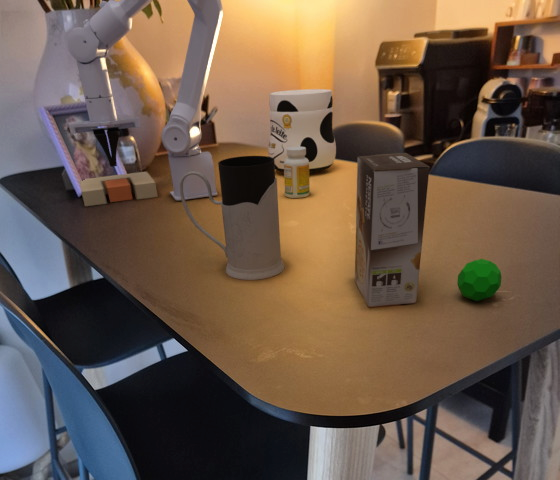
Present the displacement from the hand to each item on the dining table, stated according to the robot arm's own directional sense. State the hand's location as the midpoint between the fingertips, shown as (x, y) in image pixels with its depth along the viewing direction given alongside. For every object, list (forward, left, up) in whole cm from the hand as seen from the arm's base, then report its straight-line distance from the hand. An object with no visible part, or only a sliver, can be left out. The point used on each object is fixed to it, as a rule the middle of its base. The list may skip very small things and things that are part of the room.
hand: (113, 165), depth 115 cm
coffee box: (-27, +74, -7) cm, 79 cm away
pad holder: (0, -2, -7) cm, 7 cm away
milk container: (-47, -3, -7) cm, 48 cm away
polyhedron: (-36, +81, -7) cm, 89 cm away
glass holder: (-12, +57, -7) cm, 58 cm away
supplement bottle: (-36, +21, -7) cm, 42 cm away
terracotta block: (0, 0, -7) cm, 7 cm away
